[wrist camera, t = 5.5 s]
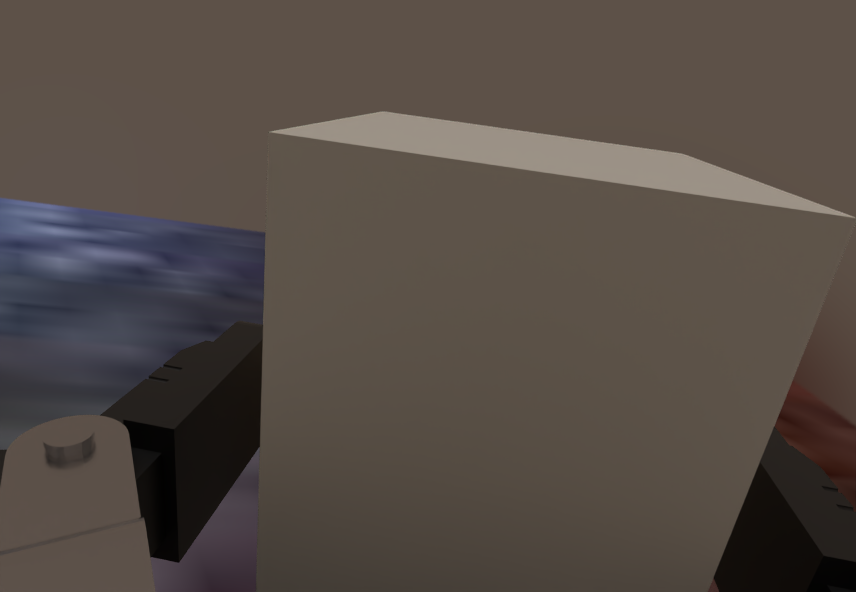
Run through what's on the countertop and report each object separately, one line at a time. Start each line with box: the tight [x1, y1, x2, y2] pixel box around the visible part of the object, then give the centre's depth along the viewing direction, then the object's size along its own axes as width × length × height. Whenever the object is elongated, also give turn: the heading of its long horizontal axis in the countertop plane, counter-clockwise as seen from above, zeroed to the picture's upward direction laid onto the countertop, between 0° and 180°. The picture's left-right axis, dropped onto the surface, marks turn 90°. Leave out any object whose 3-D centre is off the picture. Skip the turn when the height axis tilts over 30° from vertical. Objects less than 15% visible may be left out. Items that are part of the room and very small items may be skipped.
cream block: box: [256, 112, 856, 592], centre depth 9 cm, size 5×5×12 cm
